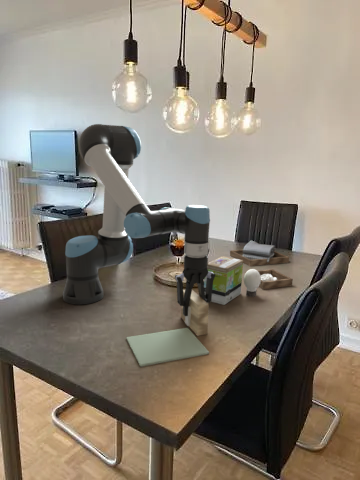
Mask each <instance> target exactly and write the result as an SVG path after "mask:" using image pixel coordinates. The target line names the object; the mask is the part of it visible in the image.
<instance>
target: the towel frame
mask: <svg viewBox="0 0 360 480" xmlns="http://www.w3.org/2000/svg"><path fill="white" fill-rule="evenodd" d="M229 256H230V258H234V259H240V260H243V265H244V264H245V265H246V266H249V267H255V266H266V265H275V264H284V263H286V264H287V263H289V262H290V257H289V256H287V255H285V254H283V253H280V252H279V251H276V250H275V251H274V255H273V256H272V258H270V259H269V262H267V259H255V260H250V259H248V258H246V257H244V256H243V249H237V250H236V249H234V250H229Z"/></svg>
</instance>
